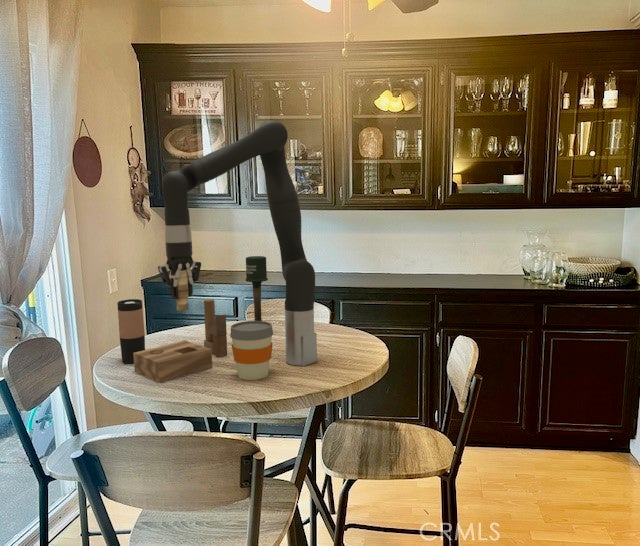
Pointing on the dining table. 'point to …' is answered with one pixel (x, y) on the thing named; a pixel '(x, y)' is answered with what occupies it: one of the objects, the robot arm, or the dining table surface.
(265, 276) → the potato masher grenade
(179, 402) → the dining table surface
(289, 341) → the robot arm
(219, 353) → the wooden block
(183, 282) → the peg
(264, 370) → the reusable coffee cup
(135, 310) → the travel mug
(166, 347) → the seat block
